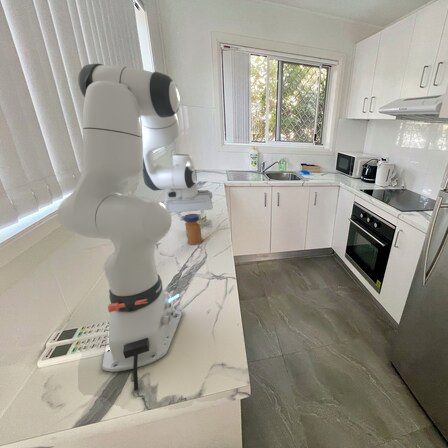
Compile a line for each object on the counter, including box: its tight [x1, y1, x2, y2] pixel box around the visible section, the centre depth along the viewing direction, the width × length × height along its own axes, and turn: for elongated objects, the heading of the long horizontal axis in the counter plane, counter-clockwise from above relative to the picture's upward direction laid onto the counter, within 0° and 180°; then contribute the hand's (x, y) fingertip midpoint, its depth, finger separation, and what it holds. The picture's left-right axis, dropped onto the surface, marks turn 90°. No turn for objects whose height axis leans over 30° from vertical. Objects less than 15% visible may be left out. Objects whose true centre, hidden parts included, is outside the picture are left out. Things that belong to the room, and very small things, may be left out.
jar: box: [184, 220, 203, 245], centre depth 117 cm, size 6×6×12 cm
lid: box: [183, 213, 199, 223], centre depth 115 cm, size 7×6×2 cm
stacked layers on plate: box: [197, 213, 211, 229], centre depth 138 cm, size 10×9×6 cm
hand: (191, 219), depth 115 cm, fingers closed on lid, 6 cm apart
